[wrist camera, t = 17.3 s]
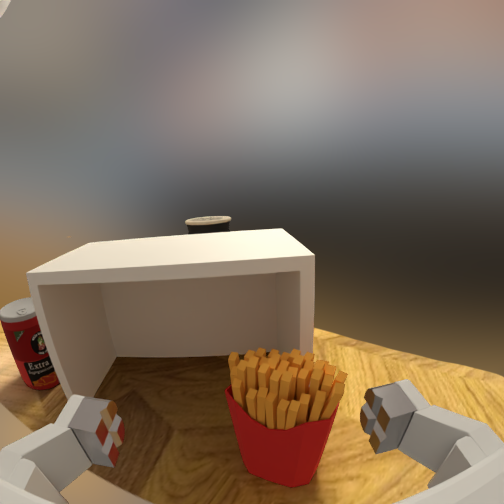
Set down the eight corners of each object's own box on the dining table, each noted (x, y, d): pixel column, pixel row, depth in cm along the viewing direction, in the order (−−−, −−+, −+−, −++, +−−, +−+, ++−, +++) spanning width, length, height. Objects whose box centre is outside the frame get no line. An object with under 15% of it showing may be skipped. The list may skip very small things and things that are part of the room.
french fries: (228, 465, 21) (211, 361, 18) (251, 439, 24) (242, 336, 22) (319, 496, 17) (339, 394, 14) (335, 463, 20) (355, 357, 17)
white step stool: (74, 414, 25) (26, 272, 22) (112, 352, 40) (89, 242, 36) (308, 415, 27) (314, 255, 23) (284, 346, 42) (282, 228, 38)
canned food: (37, 398, 27) (7, 322, 24) (17, 376, 30) (-8, 309, 28) (77, 374, 33) (55, 303, 31) (52, 357, 37) (33, 293, 34)
